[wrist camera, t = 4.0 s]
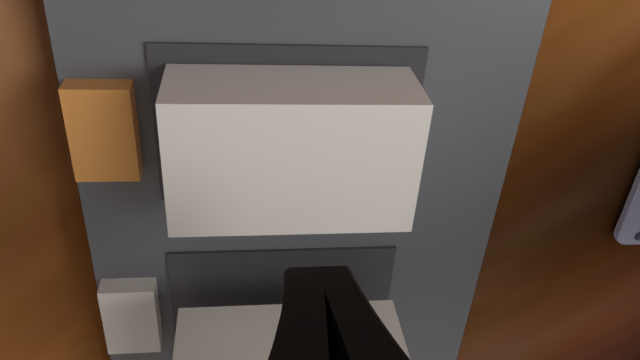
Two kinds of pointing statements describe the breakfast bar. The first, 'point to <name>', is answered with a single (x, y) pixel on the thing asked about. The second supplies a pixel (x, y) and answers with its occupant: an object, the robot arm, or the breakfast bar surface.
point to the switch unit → (302, 249)
